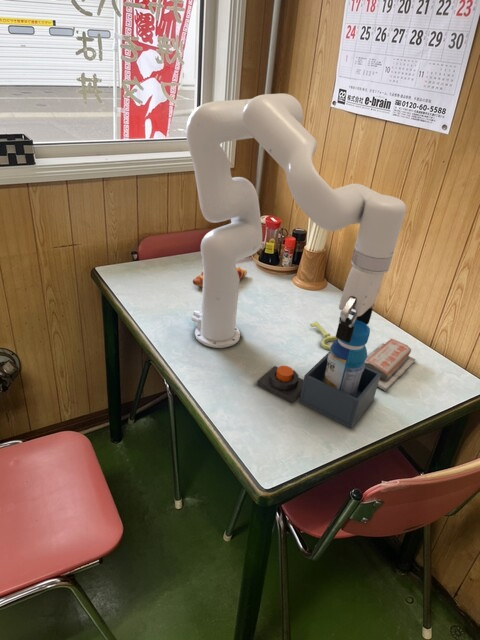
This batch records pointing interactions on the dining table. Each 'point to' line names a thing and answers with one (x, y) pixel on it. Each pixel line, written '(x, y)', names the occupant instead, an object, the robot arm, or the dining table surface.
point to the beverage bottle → (348, 360)
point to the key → (326, 336)
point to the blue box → (338, 394)
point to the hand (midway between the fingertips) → (352, 330)
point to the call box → (281, 385)
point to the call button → (284, 373)
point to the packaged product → (389, 361)
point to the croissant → (199, 279)
